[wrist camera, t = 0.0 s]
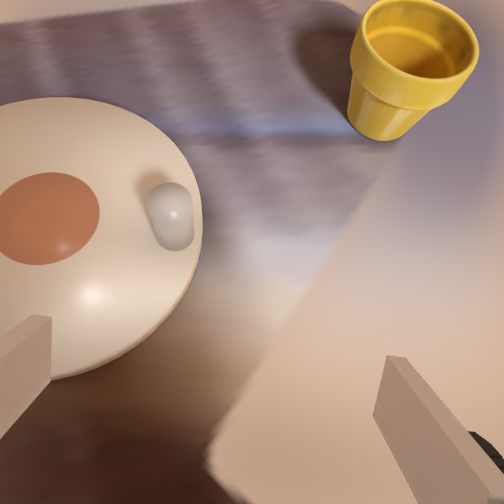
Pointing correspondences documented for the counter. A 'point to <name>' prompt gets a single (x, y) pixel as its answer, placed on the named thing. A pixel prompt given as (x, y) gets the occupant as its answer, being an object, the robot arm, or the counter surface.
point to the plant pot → (406, 64)
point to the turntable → (92, 227)
